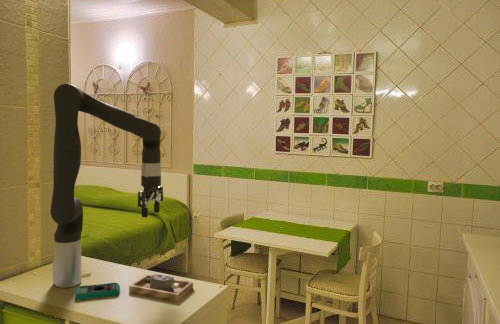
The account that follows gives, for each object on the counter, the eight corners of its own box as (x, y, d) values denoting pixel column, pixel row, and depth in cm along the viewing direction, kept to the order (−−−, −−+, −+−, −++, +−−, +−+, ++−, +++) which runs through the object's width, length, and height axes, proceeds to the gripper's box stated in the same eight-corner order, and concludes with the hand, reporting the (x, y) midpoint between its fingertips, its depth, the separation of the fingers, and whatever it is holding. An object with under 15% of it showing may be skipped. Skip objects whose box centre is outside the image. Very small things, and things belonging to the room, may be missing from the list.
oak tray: (129, 292, 145) (129, 285, 144) (147, 280, 156) (147, 274, 156) (177, 302, 138) (177, 294, 138) (193, 288, 150) (193, 282, 150)
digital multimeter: (120, 296, 142) (120, 288, 142) (75, 301, 137) (75, 293, 137) (119, 288, 149) (119, 281, 149) (76, 293, 144) (76, 285, 144)
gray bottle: (142, 288, 147) (142, 276, 147) (148, 283, 152) (148, 272, 151) (174, 294, 143) (174, 282, 143) (180, 289, 147) (180, 278, 147)
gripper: (152, 171, 162) (152, 210, 163) (131, 175, 148) (131, 217, 150) (168, 172, 159) (168, 212, 161) (149, 177, 146) (148, 220, 147)
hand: (150, 214), depth 155 cm, fingers open, 8 cm apart
